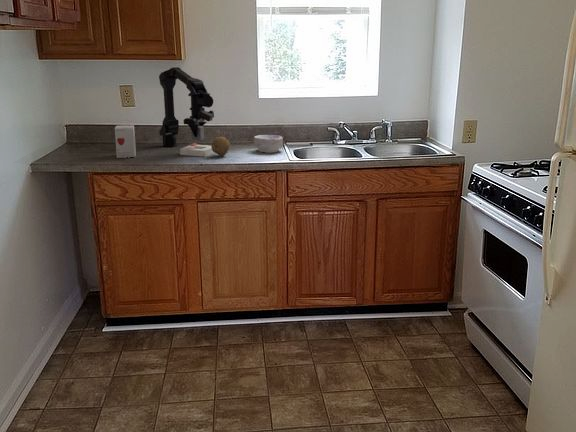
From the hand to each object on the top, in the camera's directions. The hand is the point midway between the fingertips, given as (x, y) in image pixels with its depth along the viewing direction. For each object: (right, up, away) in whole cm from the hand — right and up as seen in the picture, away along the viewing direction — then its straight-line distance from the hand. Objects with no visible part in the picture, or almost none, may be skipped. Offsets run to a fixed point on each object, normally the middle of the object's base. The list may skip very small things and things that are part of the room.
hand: (197, 136), depth 284 cm
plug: (0, -1, 0) cm, 1 cm away
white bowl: (+36, -7, +9) cm, 38 cm away
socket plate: (0, -8, +3) cm, 9 cm away
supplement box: (-35, -11, -7) cm, 37 cm away
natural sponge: (+12, -11, -4) cm, 17 cm away
